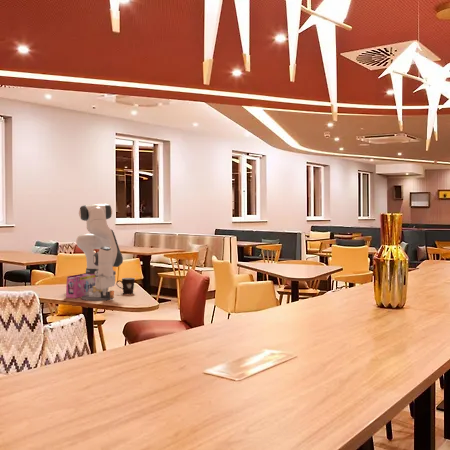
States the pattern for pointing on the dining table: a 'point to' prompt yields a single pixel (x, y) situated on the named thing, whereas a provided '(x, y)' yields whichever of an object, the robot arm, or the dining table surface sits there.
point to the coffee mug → (127, 285)
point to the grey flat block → (101, 294)
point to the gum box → (79, 285)
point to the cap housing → (95, 297)
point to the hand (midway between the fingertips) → (105, 295)
